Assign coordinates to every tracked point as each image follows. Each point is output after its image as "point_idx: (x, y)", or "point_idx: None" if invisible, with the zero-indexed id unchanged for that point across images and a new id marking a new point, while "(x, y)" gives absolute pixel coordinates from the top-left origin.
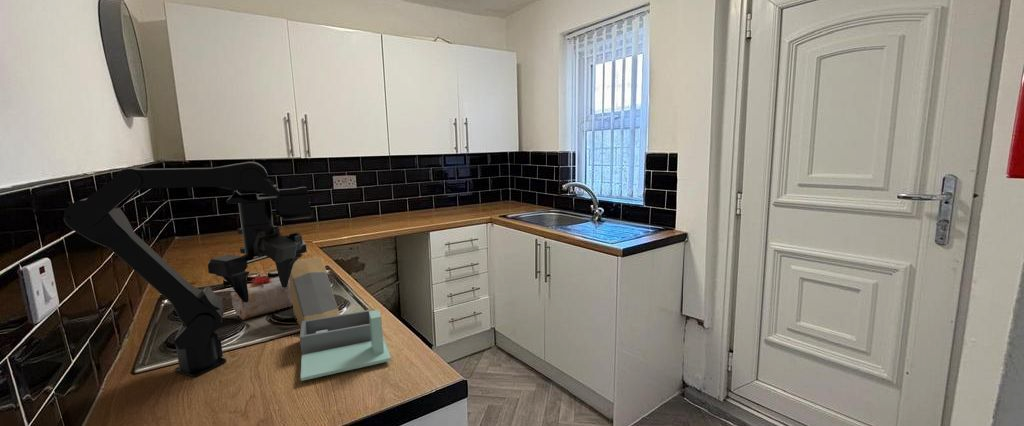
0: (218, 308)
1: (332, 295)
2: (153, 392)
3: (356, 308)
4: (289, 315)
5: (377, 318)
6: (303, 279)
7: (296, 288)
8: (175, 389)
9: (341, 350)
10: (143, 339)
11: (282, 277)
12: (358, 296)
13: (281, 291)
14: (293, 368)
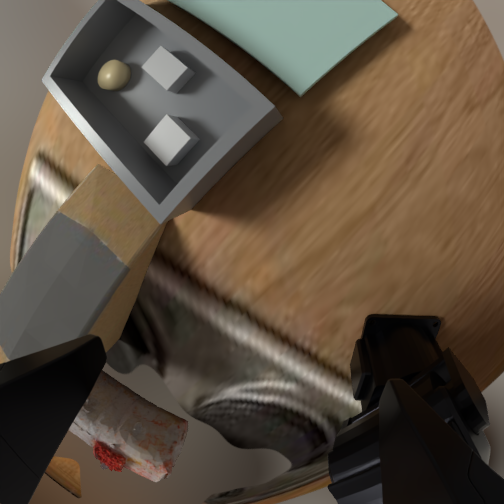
0: (454, 427)
1: (30, 250)
2: (481, 338)
3: (36, 220)
4: (122, 351)
5: None
6: None
7: None
8: (475, 311)
9: (231, 11)
10: (308, 483)
11: (65, 391)
12: (14, 264)
13: (93, 406)
14: (344, 93)
